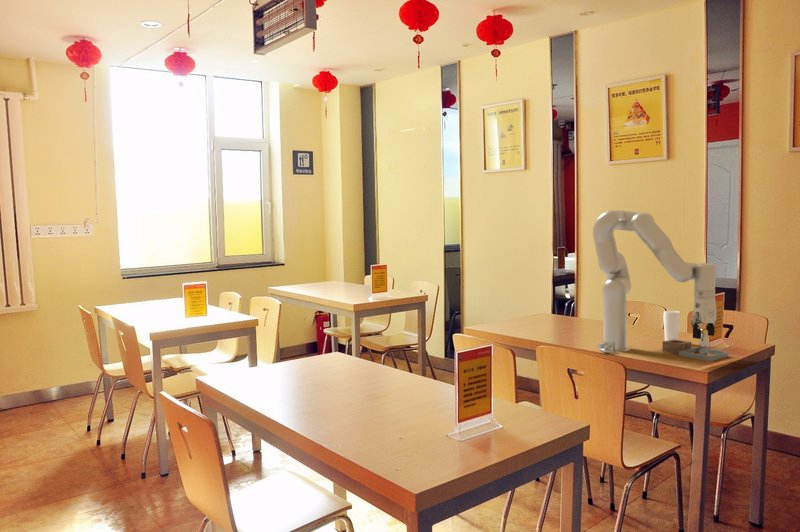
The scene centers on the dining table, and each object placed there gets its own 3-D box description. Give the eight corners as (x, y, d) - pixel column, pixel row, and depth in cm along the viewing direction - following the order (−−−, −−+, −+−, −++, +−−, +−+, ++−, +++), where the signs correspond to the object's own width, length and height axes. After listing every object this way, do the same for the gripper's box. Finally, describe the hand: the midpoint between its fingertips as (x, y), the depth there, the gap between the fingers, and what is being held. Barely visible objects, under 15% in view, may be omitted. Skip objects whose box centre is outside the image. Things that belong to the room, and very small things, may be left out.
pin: (705, 358, 254) (705, 329, 253) (697, 356, 257) (697, 328, 256) (709, 357, 256) (709, 328, 255) (701, 355, 259) (702, 327, 258)
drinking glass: (669, 347, 279) (670, 313, 278) (659, 344, 285) (660, 311, 284) (683, 346, 280) (683, 312, 279) (672, 343, 287) (673, 310, 286)
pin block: (680, 356, 260) (680, 344, 260) (662, 353, 267) (662, 341, 266) (691, 353, 265) (691, 342, 264) (673, 350, 271) (673, 339, 271)
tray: (710, 363, 247) (710, 356, 247) (679, 358, 258) (679, 351, 258) (727, 358, 255) (728, 351, 255) (696, 353, 266) (696, 346, 265)
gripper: (701, 297, 246) (700, 341, 248) (725, 293, 256) (724, 335, 258) (683, 295, 253) (682, 338, 254) (707, 291, 263) (705, 333, 264)
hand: (703, 336), depth 256 cm, fingers open, 9 cm apart
